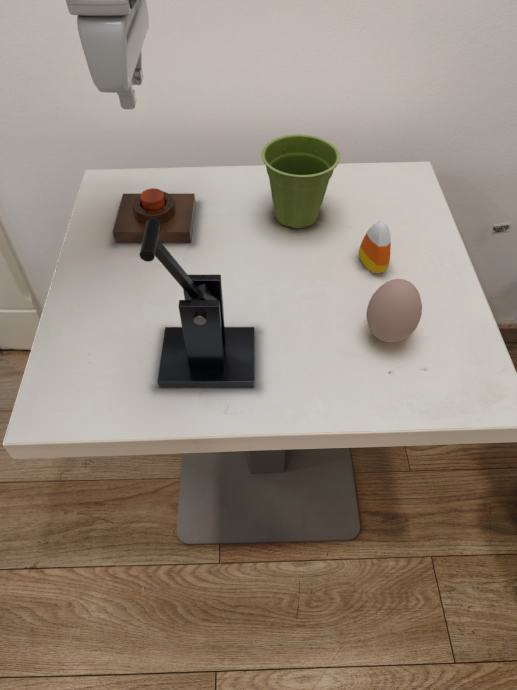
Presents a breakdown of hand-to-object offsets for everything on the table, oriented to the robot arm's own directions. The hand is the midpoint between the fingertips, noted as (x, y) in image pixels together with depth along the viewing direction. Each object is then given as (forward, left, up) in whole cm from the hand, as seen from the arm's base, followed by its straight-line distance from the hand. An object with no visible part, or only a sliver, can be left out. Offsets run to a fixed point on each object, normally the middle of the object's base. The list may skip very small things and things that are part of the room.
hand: (133, 94), depth 68 cm
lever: (+7, -28, -6) cm, 30 cm away
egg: (+34, -24, -21) cm, 47 cm away
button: (0, 0, -17) cm, 17 cm away
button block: (0, 0, -21) cm, 21 cm away
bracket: (+10, -28, -21) cm, 36 cm away
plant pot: (+23, +2, -21) cm, 31 cm away
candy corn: (+34, -10, -21) cm, 41 cm away
